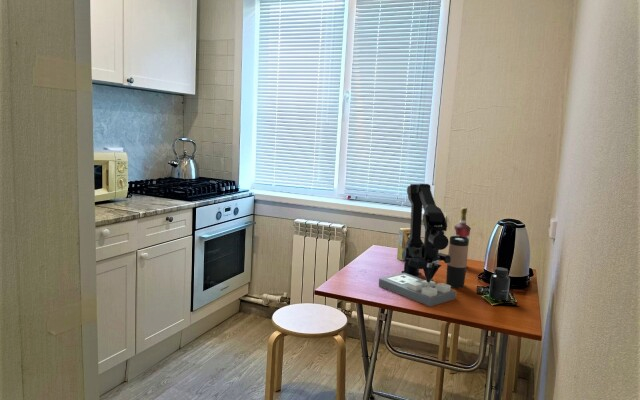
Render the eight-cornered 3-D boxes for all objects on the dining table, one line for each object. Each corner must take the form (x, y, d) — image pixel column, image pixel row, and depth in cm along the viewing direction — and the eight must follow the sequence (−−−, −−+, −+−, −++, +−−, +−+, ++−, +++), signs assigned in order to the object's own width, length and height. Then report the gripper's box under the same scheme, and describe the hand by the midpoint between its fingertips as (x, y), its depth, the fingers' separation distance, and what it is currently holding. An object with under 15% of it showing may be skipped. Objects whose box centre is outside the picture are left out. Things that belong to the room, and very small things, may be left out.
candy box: (411, 257, 233) (414, 227, 231) (416, 259, 230) (419, 229, 227) (396, 258, 230) (398, 228, 228) (401, 260, 226) (403, 229, 224)
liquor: (449, 263, 225) (454, 206, 221) (465, 264, 225) (470, 207, 221) (452, 267, 218) (457, 208, 214) (468, 269, 218) (474, 209, 213)
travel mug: (451, 280, 199) (455, 235, 196) (467, 285, 194) (472, 238, 191) (441, 284, 194) (446, 237, 191) (458, 289, 188) (463, 241, 185)
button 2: (426, 287, 186) (427, 279, 186) (435, 290, 183) (435, 282, 183) (420, 289, 184) (421, 281, 183) (428, 292, 181) (429, 284, 180)
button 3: (428, 294, 176) (428, 286, 175) (436, 297, 173) (437, 289, 172) (421, 296, 173) (421, 288, 173) (429, 299, 170) (430, 291, 170)
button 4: (441, 290, 181) (442, 282, 180) (450, 293, 178) (450, 285, 177) (434, 292, 178) (435, 284, 178) (443, 295, 175) (444, 287, 175)
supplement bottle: (505, 303, 175) (509, 272, 173) (486, 299, 179) (490, 269, 177) (509, 298, 181) (512, 268, 179) (490, 294, 184) (493, 265, 182)
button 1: (413, 288, 181) (414, 280, 181) (421, 292, 178) (422, 283, 178) (406, 290, 179) (407, 282, 178) (414, 293, 176) (415, 285, 175)
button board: (403, 279, 198) (404, 272, 197) (455, 298, 178) (456, 290, 177) (378, 285, 189) (379, 277, 188) (430, 306, 169) (430, 297, 168)
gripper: (430, 236, 193) (427, 272, 195) (399, 241, 181) (396, 280, 184) (453, 242, 184) (449, 280, 186) (422, 247, 173) (418, 288, 175)
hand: (428, 281), depth 183 cm, fingers closed, pressing on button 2
